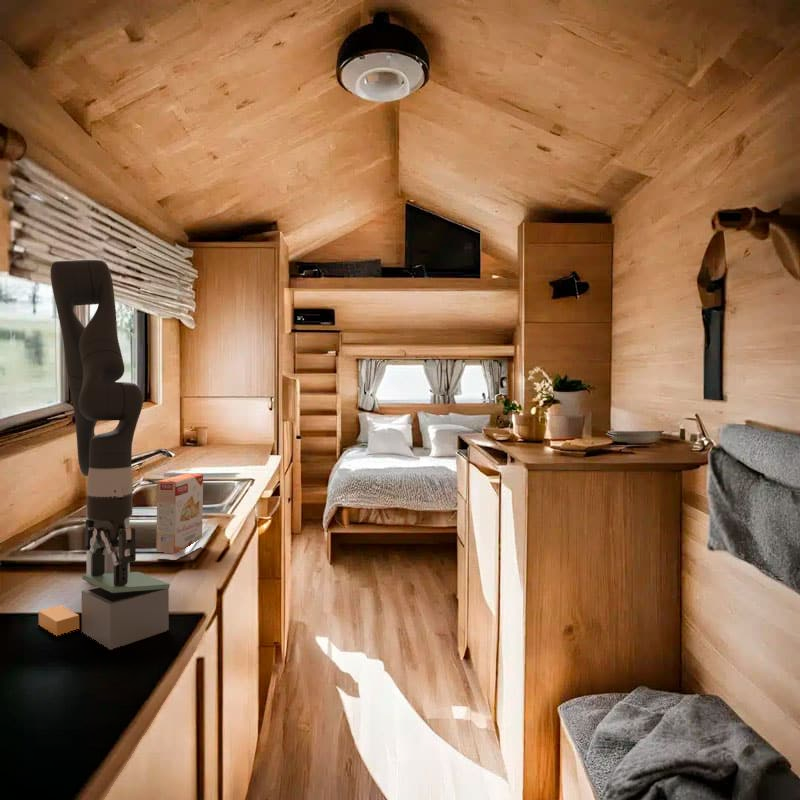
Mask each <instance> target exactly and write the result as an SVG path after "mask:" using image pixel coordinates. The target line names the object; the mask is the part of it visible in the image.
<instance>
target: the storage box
mask: <svg viewBox="0 0 800 800" xmlns="http://www.w3.org/2000/svg"><path fill="white" fill-rule="evenodd" d="M169 589H170V588H169ZM169 589H156V590H143V591H130V592H117V593H111V592H109V591H107V590H105V589H102V588H100V587H98V586H93V587H90V588H86V589H82V590H81V633H82V632H83V633H84V634H86V635H87V636H86V635H85V636H86V637H88V636H89V637H91V638H92V639H91V638H90V639H91V640H93V639H94V640H96V641H97V642H96V641H95V642H96V643H98V642H99V643H98V644H100V645H101V644H102V645H101V646H103V645H104V648H106V647H107V649H108V650H111V651H112V650H114V648H115V649H118V648H121V647H124V646H126V645H129V644H132V643H135V642H138V641H141V640H144V639H147V638H150V637H153V636H156V635H159V634H162V633H165V632H167V630H168V631H169V630H170V629H169V628H170V627H169V624H170V623H169V621H170V620H169V619H170V617H169V616H170V615H169V608H170V607H169V606H170V605H169V599H170V598H169V597H170V595H169V592H170V590H169ZM84 634H83V635H84ZM89 637H88V638H89ZM94 640H93V641H94ZM120 646H121V647H120ZM117 647H118V648H117Z"/></svg>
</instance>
